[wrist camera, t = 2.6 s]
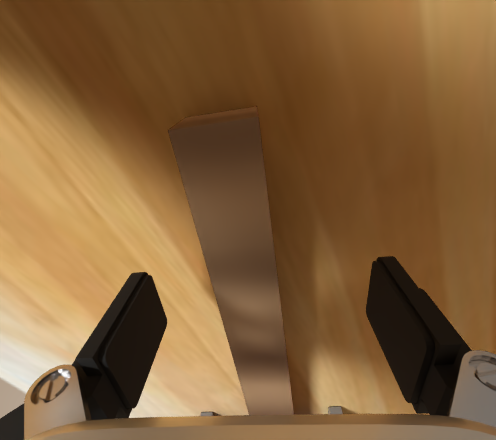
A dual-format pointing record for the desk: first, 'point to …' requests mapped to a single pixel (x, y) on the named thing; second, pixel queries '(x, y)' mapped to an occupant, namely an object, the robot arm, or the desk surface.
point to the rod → (238, 246)
